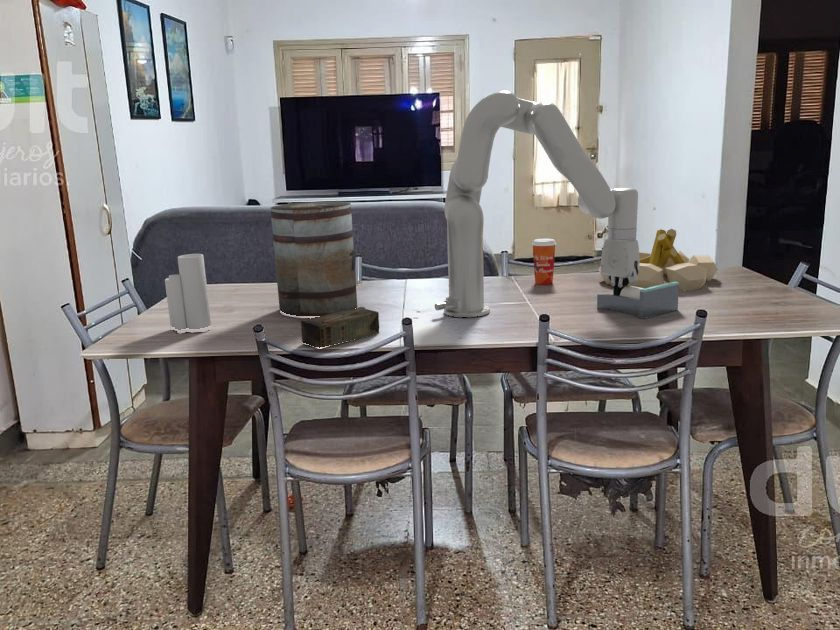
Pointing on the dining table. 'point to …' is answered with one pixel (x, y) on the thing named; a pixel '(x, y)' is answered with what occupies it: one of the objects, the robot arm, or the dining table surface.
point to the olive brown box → (339, 327)
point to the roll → (631, 292)
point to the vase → (188, 294)
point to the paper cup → (543, 260)
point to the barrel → (314, 258)
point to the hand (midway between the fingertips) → (619, 300)
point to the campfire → (671, 265)
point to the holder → (644, 301)
